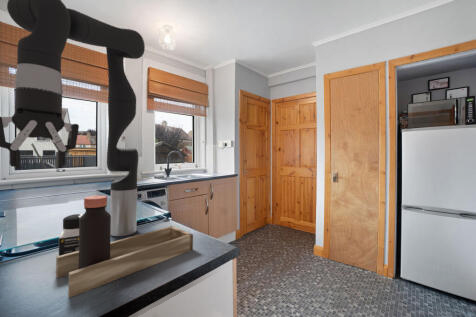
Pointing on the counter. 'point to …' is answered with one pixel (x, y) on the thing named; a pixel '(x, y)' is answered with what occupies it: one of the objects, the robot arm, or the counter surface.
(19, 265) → the counter surface
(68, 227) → the medicine bottle
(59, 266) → the u rest
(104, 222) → the vinegar
